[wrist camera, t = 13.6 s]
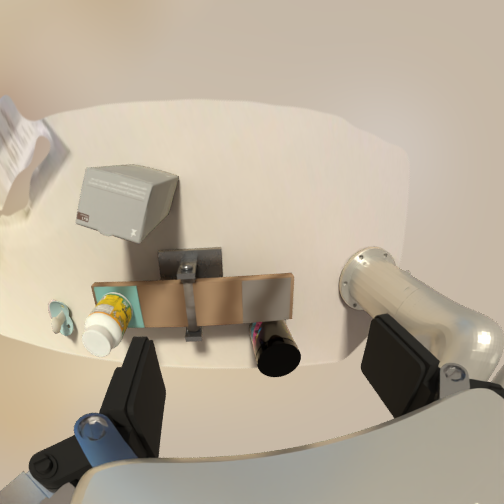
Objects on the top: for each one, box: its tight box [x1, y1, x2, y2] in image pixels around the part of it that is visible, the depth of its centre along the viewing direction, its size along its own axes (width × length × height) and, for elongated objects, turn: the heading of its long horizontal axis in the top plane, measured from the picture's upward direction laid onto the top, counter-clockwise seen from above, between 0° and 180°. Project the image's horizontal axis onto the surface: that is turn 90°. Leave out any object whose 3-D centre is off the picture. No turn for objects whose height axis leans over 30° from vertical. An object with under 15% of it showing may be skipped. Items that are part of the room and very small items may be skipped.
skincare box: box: [76, 164, 179, 244], centre depth 32 cm, size 8×7×16 cm
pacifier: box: [48, 300, 73, 336], centre depth 40 cm, size 7×6×6 cm
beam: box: [91, 273, 294, 332], centre depth 39 cm, size 30×9×2 cm, turn 91°
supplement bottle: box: [82, 292, 133, 357], centre depth 32 cm, size 5×5×10 cm
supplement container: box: [249, 320, 301, 377], centre depth 44 cm, size 7×7×10 cm
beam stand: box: [158, 247, 223, 342], centre depth 41 cm, size 10×13×8 cm
